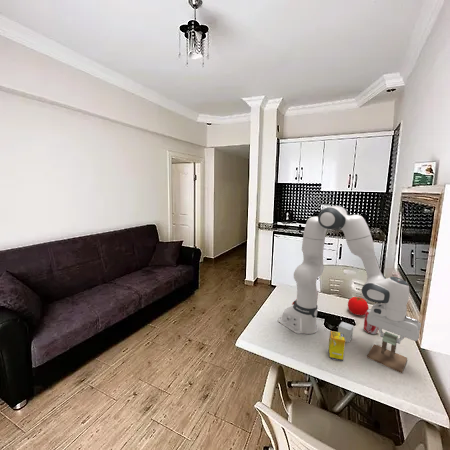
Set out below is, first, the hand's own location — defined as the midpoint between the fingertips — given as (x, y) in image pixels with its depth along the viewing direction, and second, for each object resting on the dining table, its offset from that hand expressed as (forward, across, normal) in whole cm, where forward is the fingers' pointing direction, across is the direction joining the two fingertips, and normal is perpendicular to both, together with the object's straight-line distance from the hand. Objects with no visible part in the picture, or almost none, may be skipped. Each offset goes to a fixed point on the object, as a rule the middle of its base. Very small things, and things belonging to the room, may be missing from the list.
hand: (389, 339), depth 117 cm
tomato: (+10, +24, -35) cm, 44 cm away
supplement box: (+10, +18, +16) cm, 26 cm away
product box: (+10, +20, -2) cm, 23 cm away
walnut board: (+10, 0, 0) cm, 10 cm away
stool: (+7, 0, 0) cm, 7 cm away
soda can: (+10, +12, -19) cm, 25 cm away
